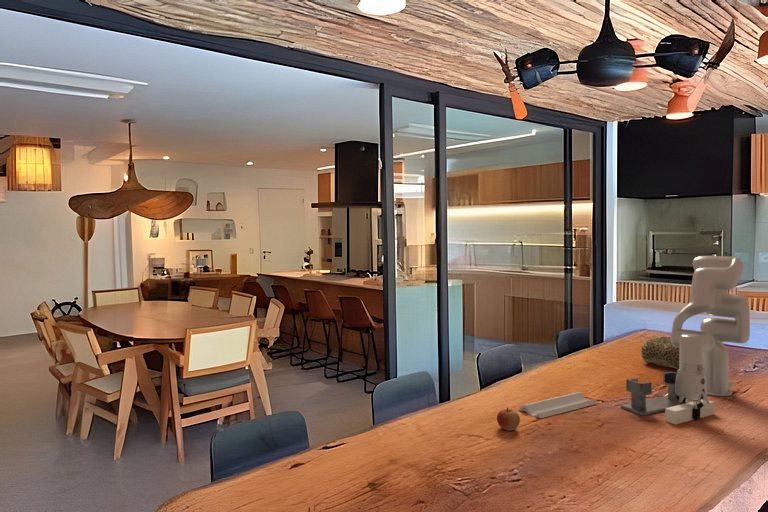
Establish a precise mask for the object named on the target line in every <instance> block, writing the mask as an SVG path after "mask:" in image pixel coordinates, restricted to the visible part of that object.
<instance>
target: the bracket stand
mask: <svg viewBox="0 0 768 512" xmlns="http://www.w3.org/2000/svg"><path fill="white" fill-rule="evenodd" d="M676 375H677V371H676V372H675V371H668V372H663V373H662V385H665V386H667V389H668V390H667V393H668V394H667V395H664V396H659V397H654V398H649V399H647V396H648V395H652V389H653V387H652V381H646V382H639V378H638V377H633V378H629V379H626V380H625V381H626V384H625V385H626V392H627V393H628V392H629V393H630V395H631V397H630V398H631V399H630V400H631V402H629V403H623V404H620V408H621V409H622V410H626V411H628V412H631V413H634V414H636V415H639V416H641V417H643V416H648V415H651V414H652V415H653V414H658V413H662V412H665V408H669V407H673V406H677V405H680V404H679V403H678V400H677V398H676V396H674V395H673V393H672V391H673V390H674V389H675V382H676ZM689 402H693V400H689V399H687V401H686V403H689Z"/></svg>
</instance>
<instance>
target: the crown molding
mask: <svg viewBox="0 0 768 512" xmlns="http://www.w3.org/2000/svg"><path fill="white" fill-rule="evenodd" d="M595 405H598V403H597V401H596V399H590V400H587V399H586V397H585V396H584V394H583V392H581V391H577V392H573V393H569V394H565V395H559V396H556V397H551V398H548V399H547V398H545V399H542V400H539V401H534V402H529V403H525V404H523V405H522V406H521V407H520V408H519V409H518V411H519V412H523V411H524V412H526V413H527V415H529V416H532V417H534V418H539V419H543V418H548V417H552V416H555V415H559V414H564V413H568V412H571V411H575V410H580V409H582V408H586V407H591V406H595Z"/></svg>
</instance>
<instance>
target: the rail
mask: <svg viewBox="0 0 768 512" xmlns="http://www.w3.org/2000/svg"><path fill="white" fill-rule="evenodd" d="M701 402H703V400H702V399H701ZM697 404H698V402H697ZM714 404H715V402H714V401H713V400H709V404H706V405H704V406H703V407H702V408H700V418H699V419H702V418H705V417H709V416H712V415H713V416H714V407H715V406H714ZM693 408H694V404H693V401H692V402H689V403H685V404H681V405H677V406H673V407H669V408H665V411H664V412H665V413H664V418H665V419H664V420H665V422H667V423H670V424H672V425H678V424H681V423H686V422H689V421H693V420H694V419H693V418H692V416H693Z"/></svg>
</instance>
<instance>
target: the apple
mask: <svg viewBox="0 0 768 512" xmlns="http://www.w3.org/2000/svg"><path fill="white" fill-rule="evenodd" d="M496 421H497V424H498V426H499V427H500V428H501V429H502V430H504V431H507V432H510V431H512V432H513V431H515V430H516V429H517V428H518V426H520V423H521V422H520V421H521V417H520V414H519V413H518V412H517V411H516V410H514V409H511V408H509V407H506V408H503V409H501V410H499V411H498V412H497V416H496Z"/></svg>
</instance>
